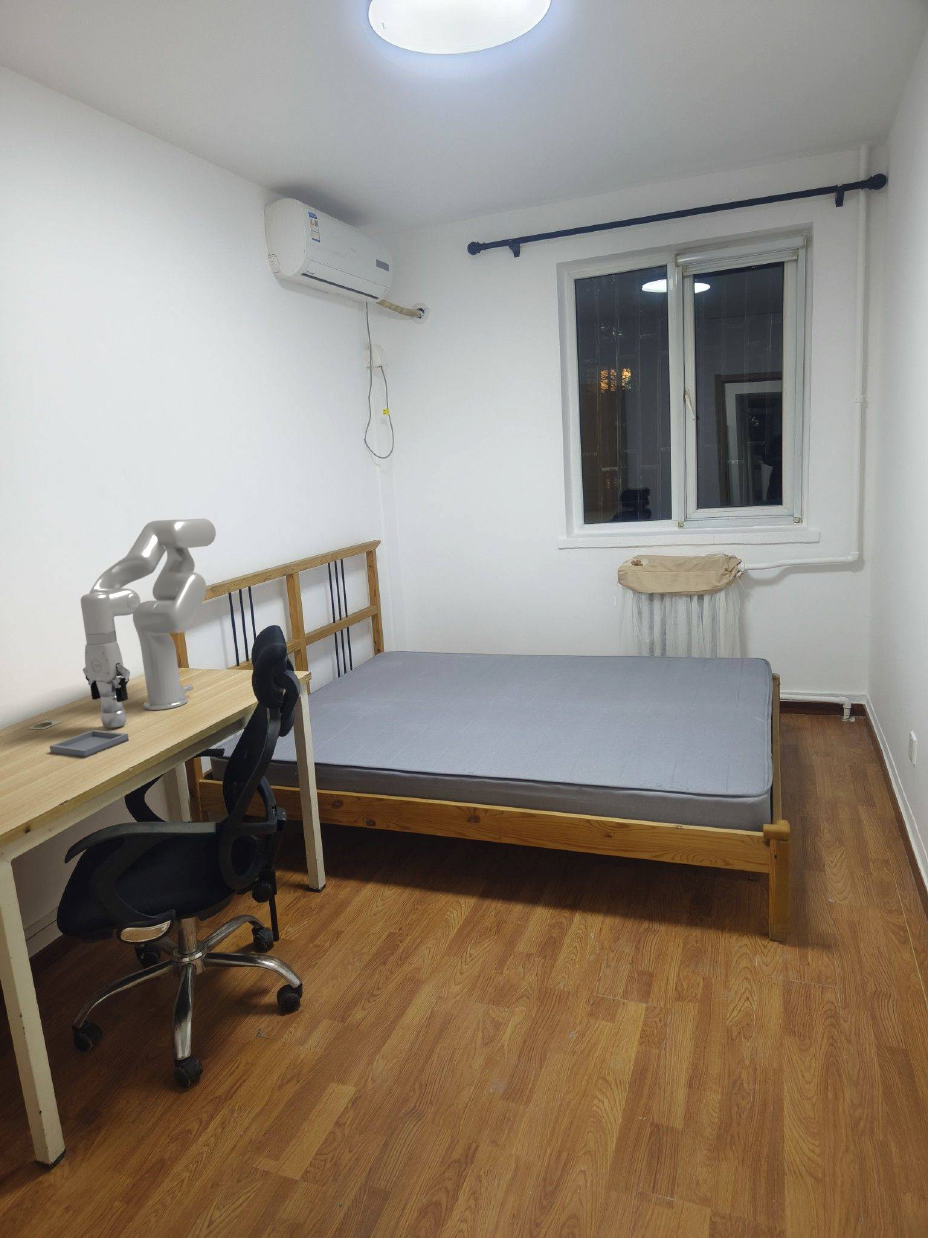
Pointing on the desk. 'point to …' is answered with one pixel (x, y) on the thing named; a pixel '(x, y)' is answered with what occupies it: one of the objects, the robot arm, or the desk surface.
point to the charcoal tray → (89, 743)
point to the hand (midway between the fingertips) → (110, 699)
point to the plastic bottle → (110, 705)
